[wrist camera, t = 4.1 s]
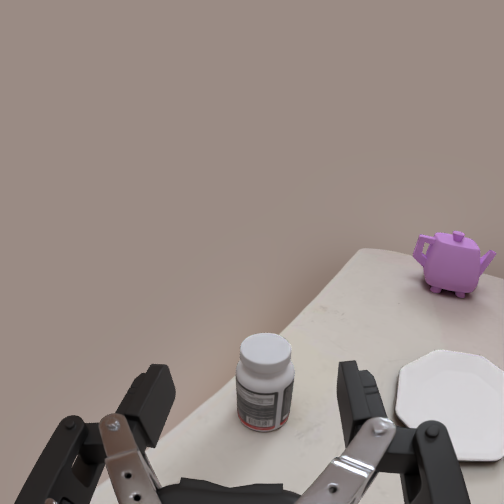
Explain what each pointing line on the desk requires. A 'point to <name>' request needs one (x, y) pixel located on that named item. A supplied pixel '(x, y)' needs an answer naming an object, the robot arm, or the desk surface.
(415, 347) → the desk surface
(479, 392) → the plate
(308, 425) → the desk surface
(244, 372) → the pill bottle
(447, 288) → the teapot
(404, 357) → the desk surface
